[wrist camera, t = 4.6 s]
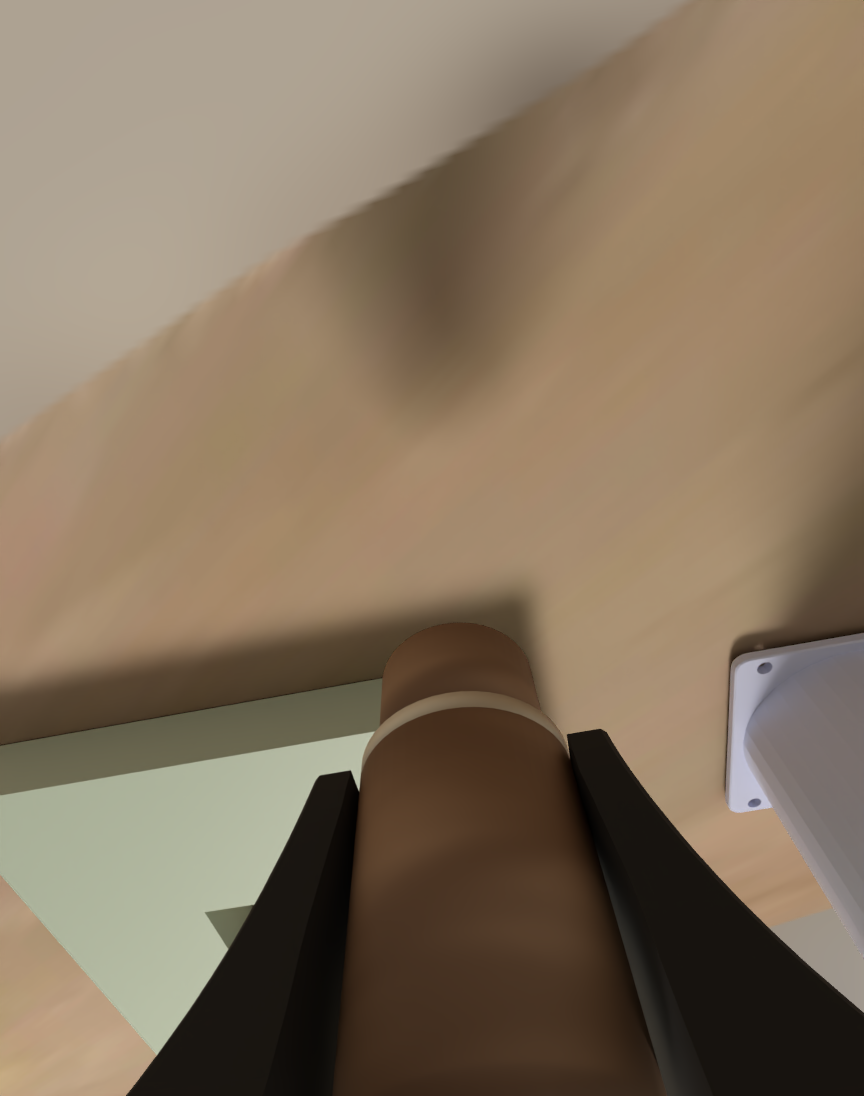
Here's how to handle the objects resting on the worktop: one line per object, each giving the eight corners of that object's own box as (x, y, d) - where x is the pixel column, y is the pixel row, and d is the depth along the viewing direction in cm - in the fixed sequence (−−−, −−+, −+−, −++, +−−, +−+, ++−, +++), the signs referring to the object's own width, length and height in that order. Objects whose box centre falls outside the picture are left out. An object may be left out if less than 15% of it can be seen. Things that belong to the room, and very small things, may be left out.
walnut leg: (533, 595, 13) (672, 1039, 6) (553, 732, 15) (675, 1189, 8) (348, 629, 13) (281, 1090, 6) (391, 758, 15) (374, 1223, 8)
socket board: (524, 653, 22) (537, 703, 19) (571, 942, 30) (583, 999, 28) (-15, 748, 23) (-60, 805, 21) (177, 999, 32) (159, 1058, 29)
